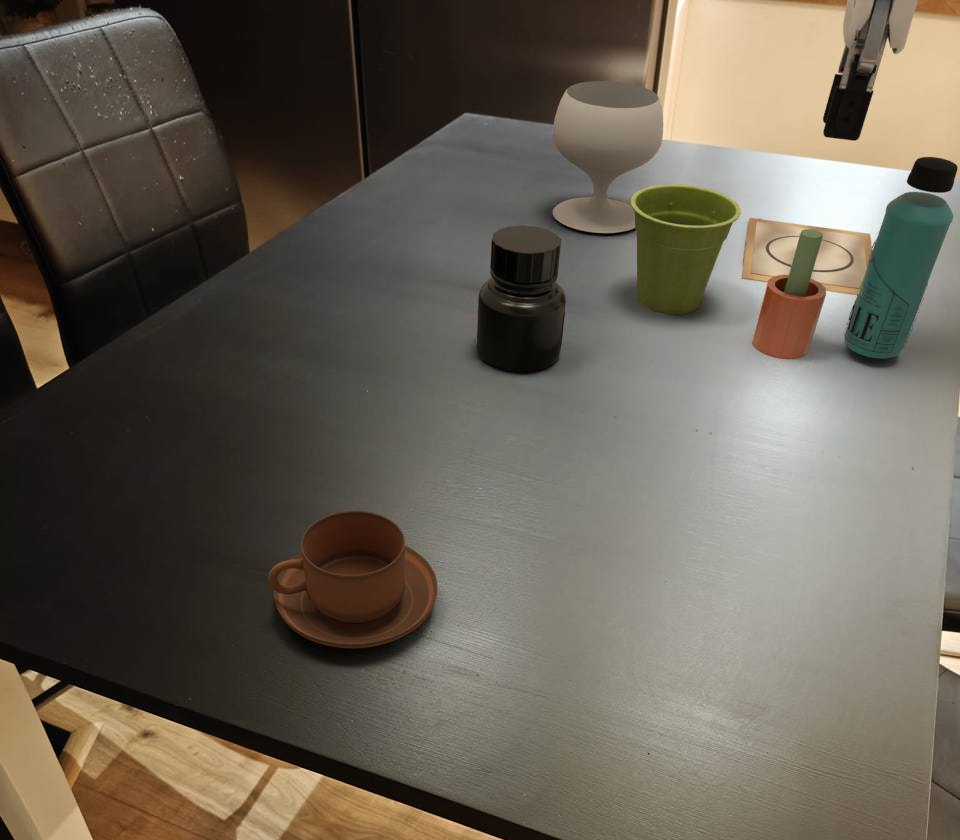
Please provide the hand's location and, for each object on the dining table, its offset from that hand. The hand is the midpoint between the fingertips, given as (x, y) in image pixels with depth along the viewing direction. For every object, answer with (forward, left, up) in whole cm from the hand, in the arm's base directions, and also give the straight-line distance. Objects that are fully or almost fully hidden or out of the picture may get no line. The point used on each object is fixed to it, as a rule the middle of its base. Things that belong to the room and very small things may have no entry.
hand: (840, 129), depth 86 cm
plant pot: (+13, -7, -22) cm, 27 cm away
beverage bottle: (-10, -1, -22) cm, 24 cm away
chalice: (+25, -30, -22) cm, 45 cm away
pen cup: (0, 0, -22) cm, 22 cm away
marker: (0, 0, -22) cm, 22 cm away
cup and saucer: (+30, +52, -22) cm, 64 cm away
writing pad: (-3, -26, -22) cm, 34 cm away
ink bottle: (+27, +10, -22) cm, 36 cm away
